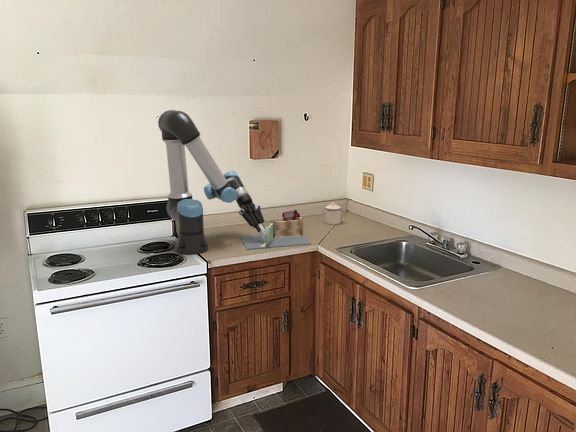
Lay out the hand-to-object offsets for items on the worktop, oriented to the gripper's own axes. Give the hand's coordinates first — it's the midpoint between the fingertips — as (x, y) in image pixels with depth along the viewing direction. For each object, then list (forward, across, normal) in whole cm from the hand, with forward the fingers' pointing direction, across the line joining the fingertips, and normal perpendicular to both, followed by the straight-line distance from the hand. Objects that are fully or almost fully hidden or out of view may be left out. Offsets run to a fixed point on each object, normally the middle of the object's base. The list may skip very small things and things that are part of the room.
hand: (265, 236), depth 248 cm
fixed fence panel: (+3, -15, -3) cm, 16 cm away
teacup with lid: (+1, -54, -5) cm, 54 cm away
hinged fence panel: (+3, -2, -1) cm, 4 cm away
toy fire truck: (-3, -28, -9) cm, 30 cm away
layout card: (+2, -7, -3) cm, 8 cm away
